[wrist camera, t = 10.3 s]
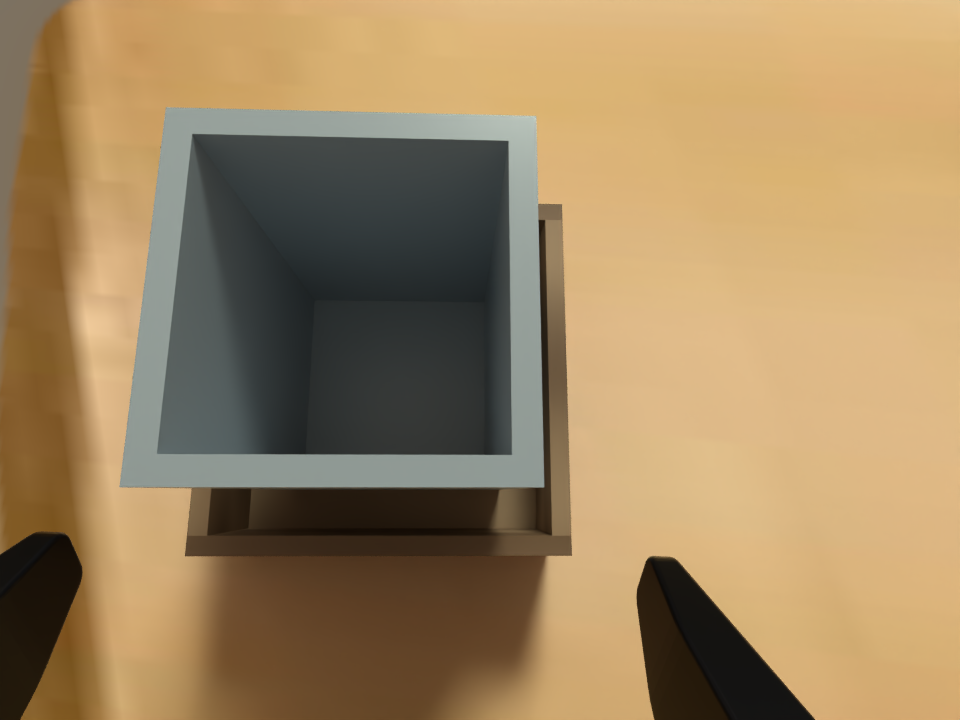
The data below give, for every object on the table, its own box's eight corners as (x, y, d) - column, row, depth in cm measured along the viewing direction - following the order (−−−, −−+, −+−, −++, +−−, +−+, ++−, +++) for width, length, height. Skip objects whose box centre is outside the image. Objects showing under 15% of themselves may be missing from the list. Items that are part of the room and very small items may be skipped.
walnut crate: (549, 543, 20) (571, 555, 16) (239, 543, 19) (185, 556, 16) (543, 255, 22) (561, 204, 18) (263, 251, 22) (220, 197, 18)
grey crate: (499, 489, 19) (544, 487, 10) (291, 489, 19) (119, 487, 9) (498, 293, 21) (535, 116, 11) (304, 291, 20) (166, 107, 11)
